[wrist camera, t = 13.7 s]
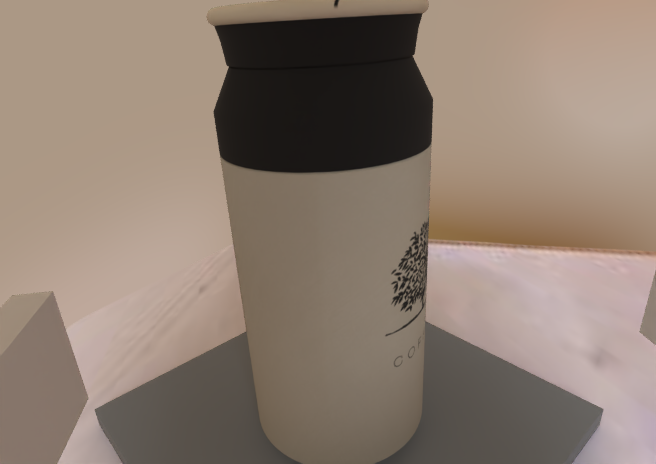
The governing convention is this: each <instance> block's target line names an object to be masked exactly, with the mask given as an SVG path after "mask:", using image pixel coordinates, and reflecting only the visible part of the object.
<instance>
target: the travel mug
mask: <svg viewBox="0 0 656 464" xmlns="http://www.w3.org/2000/svg"><path fill="white" fill-rule="evenodd" d="M428 7H429V2H428V0H278V1H266V2H254V3H244V4H235V5H227V6H221V7H215V8H212V9H210V10H209V11H208V13H207V20H208V22H209V23H210V24H211V25H213V26H215V29H216V31H217V34H218V36H219V39H220V42H221V46H222V49H223V53H224V57H225V61H226V64H227V66H229V68H228V71H227V74H226V77H225V80H224V83H223V86H222V89H221V92H220V94H219V97H218V100H217V103H216V106H215V109H214V118H215V125H216V131H217V137H218V145H219V151H220V158H221V165H222V171H223V178H224V185H225V191H226V197H227V204H228V211H229V218H230V224H231V231H232V238H233V244H234V251H235V258H236V264H237V271H238V278H239V284H240V291H241V298H242V304H243V311H244V318H245V324H246V331H247V338H248V344H249V351H250V358H251V364H252V371H253V378H254V384H255V391H256V398H257V404H258V411H259V418H260V422H261V426H262V428H263V431H264V433H265V434H266V436H267V438H268V439H269V440H270V442H271V443H272V444H273V445H274V446H275V447H276V448H277V449H278V450H279V451H281V452H282V453H283V454H285V455H286V456H288V457H290V458H291V459H293V460H295V461H298V462H300V463H303V464H374V463H377V462H379V461H381V460H383V459H386V458H387V457H389V456H391V455H393V454H394V453H395V452H397V451H398V450H400V449H401V448H402V447H403V446H404V445H405V444H406V443H407V442H408V441H409V440H410V439H411V437H412V436H413V434H414V433H415V431H416V429H417V428H418V425H419V423H420V419H421V415H422V401H423V372H424V344H425V315H426V286H427V257H428V226H429V200H430V199H429V197H430V170H431V141H432V139H431V138H432V113H433V98H432V96H431V94H430V92H429V90H428V88H427V85H426V84H425V81H424V79H423V77H422V75H421V73H420V71H419V69H418V67H417V64H416V63H415V60H414V58H413V56H412V55H414V54H415V47H416V40H417V33H418V27H419V24H420V20H421V17H422V13H424V12H426V11H427V9H428Z"/></svg>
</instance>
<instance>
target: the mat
mask: <svg viewBox="0 0 656 464" xmlns="http://www.w3.org/2000/svg"><path fill="white" fill-rule="evenodd" d="M95 412H96V415H97V418H98V421H99V424H100V426H101V427H102V429H103V431H104V432H105V434H106V436H107V437H108V439H109V441H110V442H111V444H112V446H113V447H114V449H115V451H116V452H117V454H118V456H119V457H120V459H121V461H122V462H123V464H303V463H300V462H298V461H295V460H293V459H291V458H290V457H288V456H286V455H285V454H283V453H282V452H281V451H279V450H278V449H277V448H276V447H275V446H274V445H273V444H272V443H271V442H270V440H269V439H268V438H267V436H266V434H265V433H264V431H263V428H262V426H261V422H260V418H259V411H258V404H257V398H256V391H255V384H254V378H253V371H252V364H251V358H250V351H249V344H248V338H247V332H245V333H243V334H241V335H239V336H237V337H235V338H233V339H231V340H229V341H227V342H225V343H223V344H221V345H219V346H217V347H215V348H214V349H212V350H210V351H208V352H206V353H204V354H202V355H200V356H198V357H196V358H194V359H192V360H190V361H188V362H186V363H184V364H182V365H180V366H178V367H177V368H175V369H173V370H171V371H169V372H167V373H165V374H163V375H161V376H159V377H157V378H155V379H153V380H151V381H149V382H147V383H145V384H143V385H141V386H140V387H138V388H136V389H134V390H132V391H130V392H128V393H126V394H124V395H122V396H120V397H118V398H116V399H114V400H112V401H110V402H108V403H106V404H104V405H103V406H101V407H99V408H97V409H95ZM602 412H603V409H602V408H600V407H598V406H596V405H594V404H592V403H590V402H588V401H586V400H584V399H582V398H580V397H578V396H576V395H573V394H571V393H569V392H567V391H565V390H563V389H561V388H559V387H557V386H555V385H553V384H551V383H549V382H547V381H545V380H543V379H541V378H539V377H537V376H535V375H533V374H531V373H529V372H527V371H525V370H523V369H521V368H519V367H517V366H515V365H513V364H511V363H509V362H507V361H505V360H503V359H501V358H499V357H497V356H495V355H493V354H491V353H488V352H486V351H484V350H482V349H480V348H478V347H476V346H474V345H472V344H470V343H468V342H466V341H464V340H462V339H460V338H458V337H456V336H454V335H452V334H450V333H448V332H446V331H444V330H442V329H440V328H438V327H436V326H434V325H432V324H430V323H428V322H426V321H425V344H424V372H423V401H422V415H421V419H420V423H419V425H418V428H417V429H416V431H415V433H414V434H413V436H412V437H411V439H410V440H409V441H408V442H407V443H406V444H405V445H404V446H403V447H402V448H401V449H400V450H398V451H397V452H395V453H394V454H393V455H391V456H389V457H387V458H386V459H383V460H381V461H379V462H377V463H374V464H572V462H573V461H574V459H575V458H576V457H577V455H578V454H579V453H580V451H581V450H582V448H583V447H584V446H585V444H586V443H587V441H588V440H589V439H590V437H591V436H592V434H593V433H594V432H595V430H596V429H597V427H598V426H599V424H600V420H601V416H602Z"/></svg>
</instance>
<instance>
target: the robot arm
mask: <svg viewBox="0 0 656 464" xmlns="http://www.w3.org/2000/svg"><path fill="white" fill-rule="evenodd" d="M640 333H641V334H643V335H644V336H645V337H646V338H648V339H649V340H650V341H651V342H652V343H654V344H655V345H656V272H655V275H654V279H653V283H652V287H651V290H650V294H649V298H648V302H647V305H646V309H645V313H644V317H643V320H642V324H641V328H640ZM87 400H88V395H87V392H86V389H85V386H84V383H83V380H82V377H81V374H80V371H79V368H78V365H77V362H76V359H75V356H74V353H73V350H72V347H71V344H70V341H69V338H68V335H67V332H66V329H65V326H64V323H63V320H62V317H61V314H60V311H59V308H58V305H57V302H56V299H55V296H54V293H53V291H51V292H42V293H31V294H21V295H13V296H11V297H10V298H9V299H8V300H7V301H6V303H5V304H4V305H3V306H2V307H1V308H0V464H57V463H58V461H59V459H60V457H61V455H62V453H63V451H64V448H65V446H66V444H67V442H68V440H69V438H70V436H71V434H72V432H73V430H74V427H75V425H76V423H77V421H78V419H79V417H80V415H81V413H82V411H83V409H84V407H85V404H86V402H87Z"/></svg>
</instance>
